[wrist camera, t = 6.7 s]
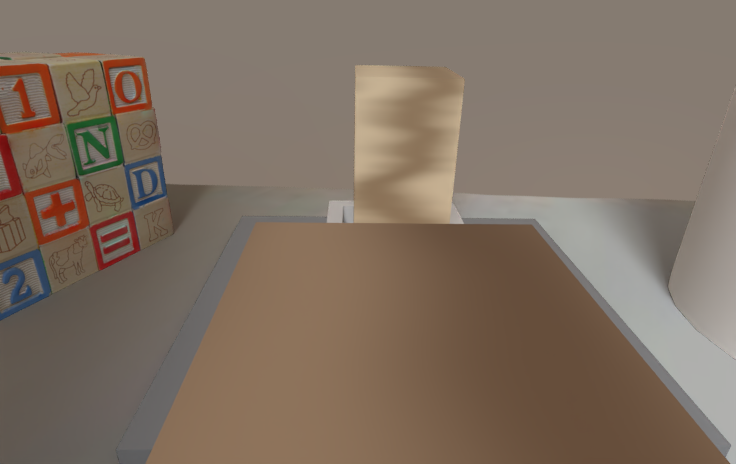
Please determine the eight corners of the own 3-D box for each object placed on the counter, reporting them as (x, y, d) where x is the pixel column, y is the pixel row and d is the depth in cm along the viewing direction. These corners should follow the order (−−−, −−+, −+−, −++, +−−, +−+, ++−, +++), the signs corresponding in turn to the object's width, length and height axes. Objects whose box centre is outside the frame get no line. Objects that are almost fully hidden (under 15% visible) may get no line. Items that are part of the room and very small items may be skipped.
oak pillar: (353, 268, 28) (355, 76, 23) (353, 229, 33) (355, 65, 28) (444, 269, 28) (464, 78, 24) (431, 230, 33) (445, 67, 29)
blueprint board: (120, 465, 17) (106, 417, 16) (243, 225, 35) (240, 196, 34) (723, 460, 17) (746, 415, 16) (532, 228, 36) (538, 200, 35)
